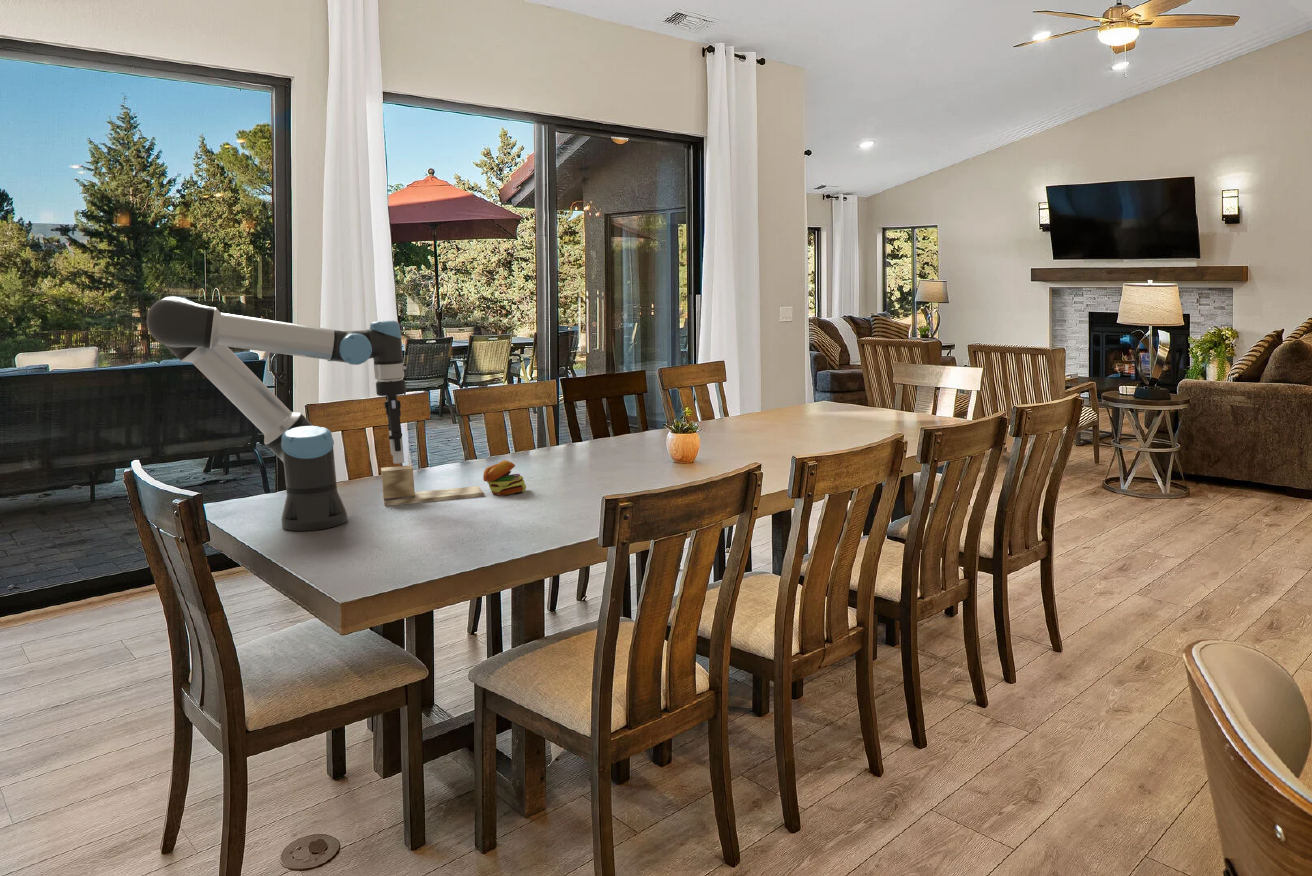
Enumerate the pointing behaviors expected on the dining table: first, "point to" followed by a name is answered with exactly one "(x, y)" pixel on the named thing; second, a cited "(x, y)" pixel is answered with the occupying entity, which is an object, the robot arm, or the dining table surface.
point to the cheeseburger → (503, 479)
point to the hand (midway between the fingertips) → (397, 458)
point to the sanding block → (398, 482)
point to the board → (439, 495)
